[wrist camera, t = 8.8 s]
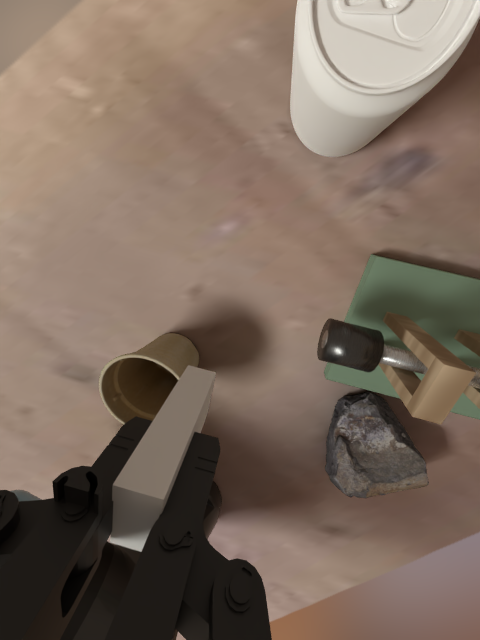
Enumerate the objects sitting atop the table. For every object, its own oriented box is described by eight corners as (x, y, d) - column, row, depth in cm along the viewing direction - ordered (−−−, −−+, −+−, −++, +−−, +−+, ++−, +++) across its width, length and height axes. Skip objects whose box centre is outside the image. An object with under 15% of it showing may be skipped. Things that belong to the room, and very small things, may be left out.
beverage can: (369, 167, 23) (448, 122, 12) (279, 148, 23) (275, 89, 12) (411, 47, 20) (573, -166, 9) (306, 28, 20) (333, -196, 9)
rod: (312, 333, 27) (322, 376, 20) (323, 301, 26) (339, 335, 18) (557, 395, 26) (667, 467, 18) (584, 365, 24) (714, 430, 17)
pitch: (324, 371, 31) (325, 379, 30) (371, 254, 25) (376, 256, 24) (515, 422, 30) (527, 432, 28) (609, 309, 24) (629, 314, 23)
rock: (427, 457, 33) (452, 499, 29) (346, 485, 37) (356, 526, 32) (369, 377, 31) (386, 408, 26) (288, 416, 34) (289, 450, 29)
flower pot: (202, 315, 31) (174, 350, 23) (219, 382, 34) (200, 434, 26) (132, 324, 33) (83, 359, 25) (154, 387, 36) (117, 436, 28)
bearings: (369, 349, 27) (412, 416, 18) (386, 311, 26) (444, 364, 17) (456, 371, 27) (545, 452, 18) (480, 334, 25) (593, 402, 16)
